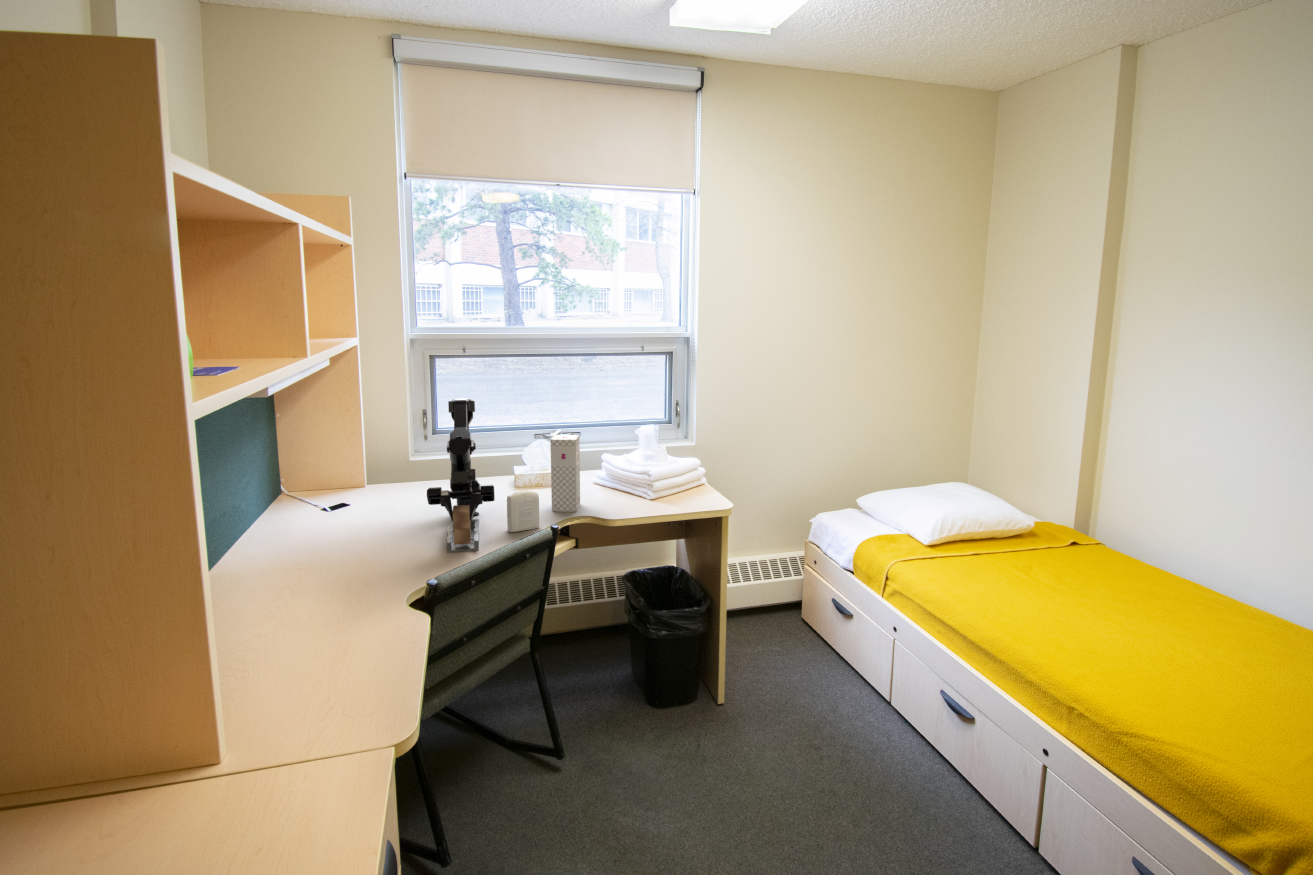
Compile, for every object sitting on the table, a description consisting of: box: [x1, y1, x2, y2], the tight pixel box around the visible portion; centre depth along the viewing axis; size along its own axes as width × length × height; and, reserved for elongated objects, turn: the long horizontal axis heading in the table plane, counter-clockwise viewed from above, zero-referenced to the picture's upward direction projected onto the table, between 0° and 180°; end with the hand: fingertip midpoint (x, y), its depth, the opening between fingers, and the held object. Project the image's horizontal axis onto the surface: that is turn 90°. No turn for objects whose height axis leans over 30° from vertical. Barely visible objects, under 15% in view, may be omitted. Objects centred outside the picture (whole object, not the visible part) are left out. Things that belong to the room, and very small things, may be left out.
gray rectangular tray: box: [446, 518, 480, 554], centre depth 204 cm, size 20×9×3 cm, turn 14°
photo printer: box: [506, 490, 540, 533], centre depth 214 cm, size 10×4×12 cm, turn 123°
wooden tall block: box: [452, 505, 471, 545], centre depth 196 cm, size 4×5×10 cm
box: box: [550, 434, 581, 513], centre depth 235 cm, size 8×8×25 cm
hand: (461, 520), depth 194 cm, fingers closed on wooden tall block, 4 cm apart
